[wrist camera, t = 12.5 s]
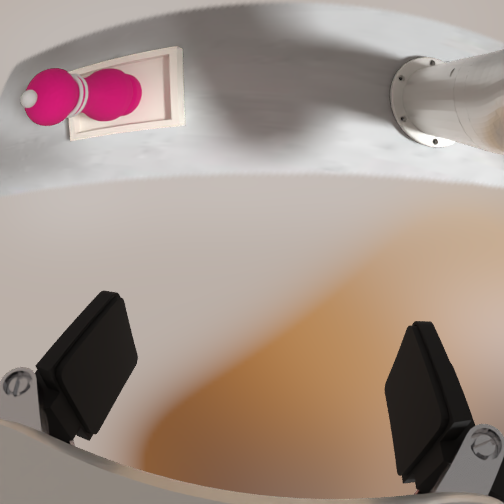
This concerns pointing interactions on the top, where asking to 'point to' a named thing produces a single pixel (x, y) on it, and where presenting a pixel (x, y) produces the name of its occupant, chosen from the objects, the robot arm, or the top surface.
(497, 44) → the top surface
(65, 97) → the pepper mill
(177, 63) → the tray
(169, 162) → the top surface
